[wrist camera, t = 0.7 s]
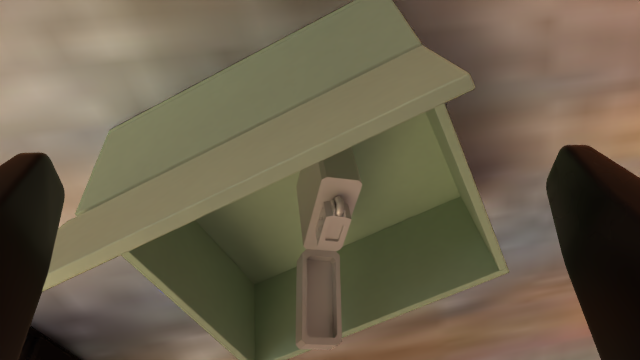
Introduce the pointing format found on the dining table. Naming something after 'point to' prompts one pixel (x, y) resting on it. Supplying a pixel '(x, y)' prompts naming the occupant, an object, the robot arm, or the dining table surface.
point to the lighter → (323, 247)
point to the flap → (258, 159)
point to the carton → (282, 203)
